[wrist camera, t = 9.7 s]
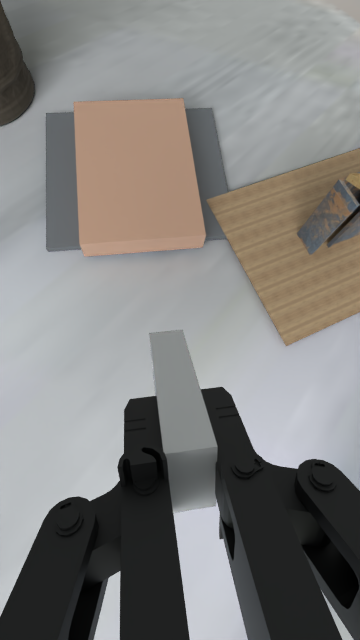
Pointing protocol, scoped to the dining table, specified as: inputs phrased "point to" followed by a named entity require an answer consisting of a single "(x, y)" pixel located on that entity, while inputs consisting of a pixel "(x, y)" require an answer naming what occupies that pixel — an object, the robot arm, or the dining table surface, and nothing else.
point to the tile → (136, 177)
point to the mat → (64, 176)
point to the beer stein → (12, 75)
